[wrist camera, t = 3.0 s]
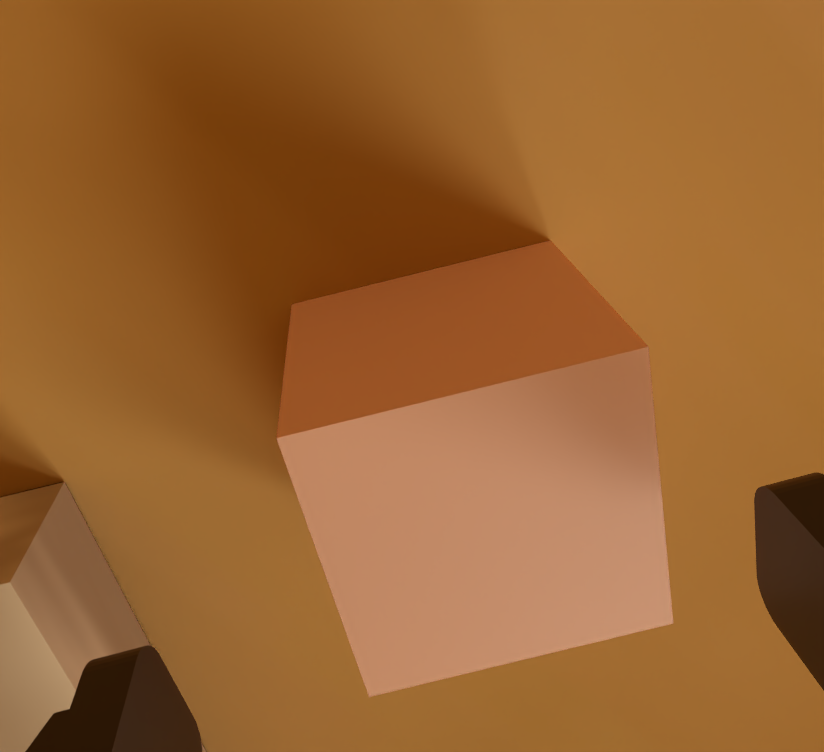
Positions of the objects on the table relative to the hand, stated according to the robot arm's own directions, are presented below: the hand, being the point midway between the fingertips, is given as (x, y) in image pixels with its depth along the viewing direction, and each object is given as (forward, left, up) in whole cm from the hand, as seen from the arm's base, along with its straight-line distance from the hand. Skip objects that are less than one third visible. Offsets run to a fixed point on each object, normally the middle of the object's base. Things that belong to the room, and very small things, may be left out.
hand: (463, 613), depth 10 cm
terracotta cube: (-1, 0, -6) cm, 6 cm away
